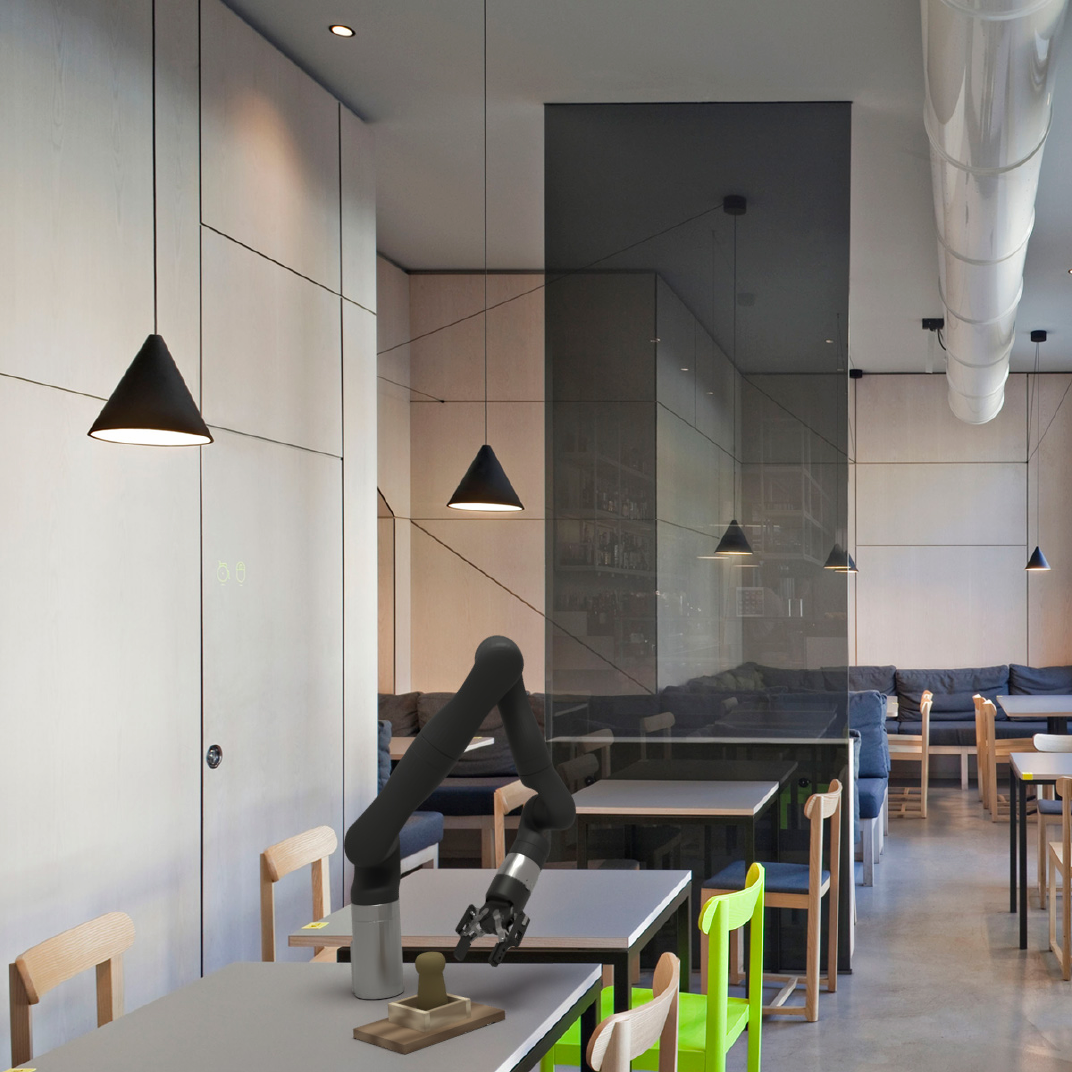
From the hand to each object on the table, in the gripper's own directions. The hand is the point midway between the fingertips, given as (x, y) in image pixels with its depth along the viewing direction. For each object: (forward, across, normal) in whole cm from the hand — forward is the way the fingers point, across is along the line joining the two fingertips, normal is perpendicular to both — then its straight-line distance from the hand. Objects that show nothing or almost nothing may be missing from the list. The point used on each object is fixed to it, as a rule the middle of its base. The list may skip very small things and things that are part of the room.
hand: (474, 961), depth 219 cm
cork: (+13, 0, -3) cm, 13 cm away
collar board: (+14, 0, -2) cm, 14 cm away
